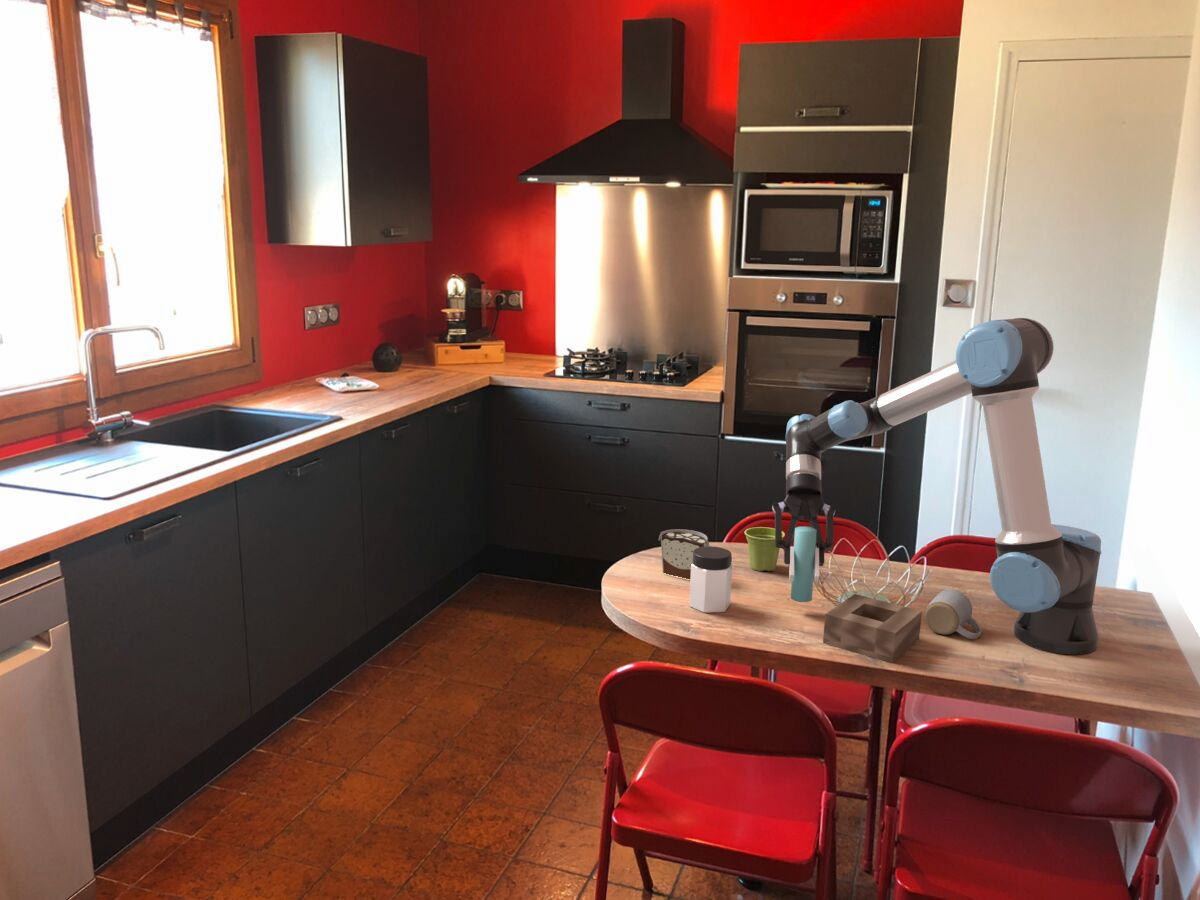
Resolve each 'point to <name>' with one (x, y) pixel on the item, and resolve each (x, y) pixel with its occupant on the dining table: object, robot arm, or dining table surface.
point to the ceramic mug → (951, 614)
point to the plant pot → (762, 548)
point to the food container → (680, 550)
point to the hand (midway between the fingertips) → (804, 578)
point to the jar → (710, 579)
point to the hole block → (872, 627)
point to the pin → (803, 564)
